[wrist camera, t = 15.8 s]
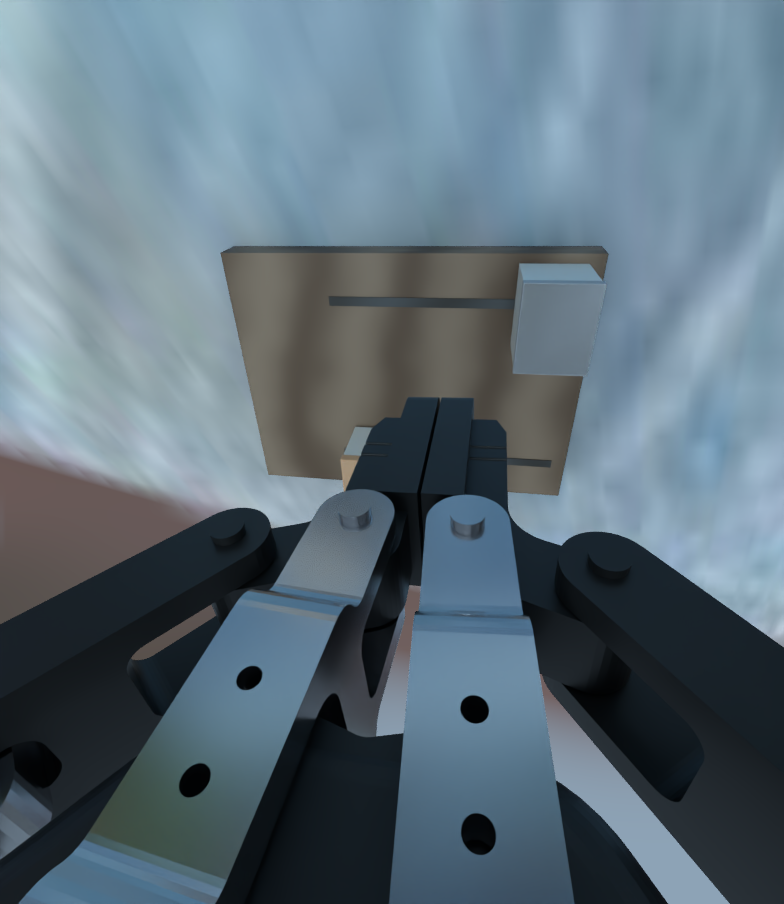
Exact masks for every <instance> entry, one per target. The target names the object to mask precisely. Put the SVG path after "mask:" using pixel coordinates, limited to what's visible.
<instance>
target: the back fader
mask: <svg viewBox="0 0 784 904" xmlns="http://www.w3.org/2000/svg"><path fill="white" fill-rule="evenodd" d="M371 429H372V428H370V427H355V429H354V431H353V433H352V436H351V438H350V440H349V443H348V445H347V448H346V450H345V452H344V455H342V457H341V459H340V460H341V469H342V478H343V488H344V492H345V490H346V487H347V485H348V483H349V480H350V478H351V476H352V473H353V471H354V469H355V466H356V464H357V461H358V459H359V457H360V456H361V452H362V450H363V447H364V445H366V440H367V438H368V436H369V433H370V431H371Z"/></svg>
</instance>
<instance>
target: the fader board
mask: <svg viewBox="0 0 784 904" xmlns="http://www.w3.org/2000/svg"><path fill="white" fill-rule="evenodd" d="M221 257H222V262H223V266H224V271H225V276H226V280H227V285H228V289H229V294H230V299H231V303H232V308H233V313H234V317H235V322H236V326H237V331H238V336H239V340H240V345H241V349H242V354H243V359H244V363H245V368H246V373H247V377H248V382H249V386H250V391H251V396H252V400H253V405H254V410H255V414H256V419H257V423H258V428H259V433H260V437H261V442H262V446H263V451H264V456H265V460H266V465H267V470H268V474H269V475H281V476H295V477H308V478H322V479H336V480H343V478H342V469H341V460H340V459H341V457H342V455H344V452H345V450H346V448H347V445H348V443H349V440H350V438H351V436H352V433H353V431H354V429H355V427H370V428H373V427H374V426H375V425H377V424H378V423H379V422H380V421H381V420H383V419H384V418H385V417H389V418H401V415H402V412H403V409H404V406H405V403H406V400H407V398H408V397H439V398H440V402H441V398H442V397H451V398H474V419H483V420H497V421H498V422H499V423H500V425H501V426H502V427H503V429H504V430H505V431H506V432H507V490H508V492H516V493H530V494H544V495H558V494H559V489H560V484H561V480H562V475H563V470H564V465H565V460H566V456H567V451H568V446H569V441H570V436H571V432H572V427H573V422H574V417H575V412H576V408H577V403H578V398H579V393H580V388H581V383H582V379H583V376H564V375H537V374H513V370H512V369H513V361H512V353H511V345H510V343H511V334H512V325H513V316H514V307H515V298H516V289H517V280H518V271H519V263H526V264H590V265H591V266H592V267H593V269H594V270H595V271H596V273H597V274H598V275H599V277H600V278H601V279H602V281H603V278H604V273H605V268H606V263H607V258H608V253H607V252H606V250H605V249H604V248H603V247H602V246H253V247H232V248H230V249H228V250H226V251H223V252H221Z"/></svg>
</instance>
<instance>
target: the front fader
mask: <svg viewBox="0 0 784 904" xmlns="http://www.w3.org/2000/svg"><path fill="white" fill-rule="evenodd" d="M606 286H607V283H606V282H605V281H602V279H601V278H600V277H599V275H598V274H597V273H596V271H595V270H594V269H593V267H592V266H591V265H590V264H526V263H519V271H518V280H517V289H516V298H515V307H514V316H513V325H512V334H511V343H510V345H511V353H512V361H513V369H512V370H513V374H537V375H564V376H587V375H588V370H589V366H590V361H591V356H592V352H593V347H594V342H595V338H596V333H597V328H598V324H599V319H600V314H601V310H602V305H603V300H604V295H605V291H606Z"/></svg>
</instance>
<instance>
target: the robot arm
mask: <svg viewBox="0 0 784 904" xmlns="http://www.w3.org/2000/svg"><path fill="white" fill-rule="evenodd" d="M409 585H416V586H421V591H420V604H419V611H416V612H415V616H414V623H413V633H412V644H411V655H410V667H409V678H408V691H407V701H406V713H405V724H404V733H402V734H394V735H386V736H377V737H376V730H377V719H378V713H379V708H380V704H381V701H382V697H383V694H384V690H385V687H386V683H387V680H388V676H389V672H390V669H391V666H392V662H393V658H394V655H395V652H396V648H397V644H398V641H399V638H400V634H401V631H402V627H403V624H404V619H405V609H404V606H405V603H406V598H407V594H408V589H409ZM209 605H212V607H213V609H214V611H215V614H216V616H215V617H214V618H212V619H211V620H209V621H207V622H206V623H204V624H203V625H201V626H199V627H198V628H196V629H195V630H193V631H192V632H190V633H188V634H187V635H185V636H184V637H182V638H180V639H179V640H177V641H176V642H174V643H172V644H171V645H169V646H168V647H166V648H165V649H163V650H161V651H160V652H158V653H157V654H155V655H154V656H152V657H150V658H147V659H144V660H132V659H131V657H132V656H133V654H134V653H135V652H136V651H137V650H139V649H140V648H141V647H143V646H144V645H146V644H147V643H149V642H151V641H152V640H154V639H155V638H157V637H159V636H160V635H162V634H163V633H165V632H167V631H168V630H170V629H172V628H173V627H175V626H176V625H178V624H180V623H182V622H183V621H185V620H186V619H188V618H190V617H191V616H193V615H194V614H196V613H198V612H199V611H201V610H203V609H204V608H206V607H208V606H209ZM540 674H542V676H543V679H544V682H545V683H546V685H547V687H548V689H549V690H550V692H551V693H552V694H553V695H554V697H555V698H556V699H557V700H558V701H559V702H560V704H561V705H562V706H563V707H564V708H565V709H566V711H567V712H568V713H569V714H570V715H571V717H572V718H573V719H574V720H575V721H576V723H577V724H578V725H579V726H580V727H581V728H582V730H583V731H584V732H585V733H586V734H587V736H588V737H589V738H590V739H591V740H592V741H593V743H594V744H595V745H596V746H597V747H598V748H599V750H600V751H601V752H602V753H603V754H604V756H605V757H606V758H607V759H608V760H609V762H610V763H611V764H612V765H613V766H614V767H615V769H616V770H617V771H618V772H619V773H620V774H621V775H622V777H623V778H624V779H625V780H626V782H627V783H628V784H629V785H630V786H631V787H632V789H633V790H634V791H635V792H636V793H637V794H638V796H639V797H640V798H641V799H642V800H643V802H644V803H645V804H646V805H647V806H648V808H649V809H650V810H651V811H652V812H653V813H654V815H655V816H656V817H657V818H658V819H659V821H660V822H661V823H662V824H663V825H664V826H665V828H666V829H667V830H668V831H669V832H670V834H671V835H672V836H673V837H674V838H675V839H676V840H677V842H678V843H679V844H680V845H681V846H682V848H683V849H684V850H685V851H686V852H687V854H688V855H689V856H690V857H691V858H692V859H693V861H694V862H695V863H696V864H697V865H698V867H699V868H700V869H701V870H702V871H703V872H704V874H705V875H706V876H707V877H708V878H709V880H710V881H711V882H712V883H713V884H714V885H715V887H716V888H717V889H718V890H719V891H720V893H721V894H722V895H723V896H724V897H725V898H726V900H727V901H728V902H729V903H730V904H784V647H782V646H781V645H779V644H778V643H777V642H775V641H774V640H772V639H771V638H770V637H768V636H767V635H765V634H764V633H763V632H761V631H760V630H758V629H757V628H756V627H754V626H753V625H751V624H750V623H749V622H747V621H746V620H744V619H743V618H742V617H740V616H739V615H737V614H736V613H735V612H733V611H732V610H730V609H729V608H728V607H726V606H725V605H723V604H722V603H721V602H719V601H718V600H716V599H715V598H713V597H712V596H711V595H709V594H708V593H706V592H705V591H704V590H702V589H701V588H699V587H698V586H697V585H695V584H694V583H692V582H691V581H690V580H688V579H687V578H685V577H684V576H683V575H681V574H680V573H678V572H677V571H676V570H674V569H673V568H671V567H670V566H669V565H667V564H666V563H664V562H663V561H662V560H660V559H659V558H657V557H656V556H655V555H653V554H652V553H650V552H649V551H648V550H646V549H645V548H643V547H642V546H640V545H639V544H637V543H636V542H634V541H632V540H630V539H628V538H625V537H622V536H619V535H616V534H612V533H606V532H586V533H581V534H578V535H575V536H573V537H571V538H570V539H568V540H567V541H566V542H565V543H564V544H563V545H562V546H560V545H557V544H554V543H550V542H547V541H544V540H541V539H539V538H536V537H534V536H532V535H530V534H528V533H527V532H525V531H524V530H522V529H521V528H520V527H519V526H517V524H516V523H515V522H514V521H513V519H512V518H511V516H510V514H509V511H508V490H507V432H506V431H505V430H504V429H503V427H502V426H501V425H500V423H499V422H498V421H497V420H483V419H474V398H451V397H442V398H441V402H440V398H439V397H408V398H407V400H406V403H405V406H404V409H403V412H402V415H401V418H389V417H385V418H384V419H383V420H381V421H380V422H379V423H378V424H377V425H375V426H374V427H373V428H372V429H371V431H370V433H369V436H368V438H367V440H366V445H364V447H363V450H362V452H361V456H360V457H359V459H358V461H357V464H356V466H355V469H354V471H353V473H352V476H351V478H350V480H349V483H348V485H347V487H346V490H345V492H341V493H339V494H336V495H334V496H333V497H331V498H329V499H328V500H326V501H325V502H324V503H323V504H322V505H321V506H320V508H319V509H318V511H317V513H316V514H315V516H314V518H313V519H312V521H309V522H306V523H302V524H296V525H290V526H284V527H278V528H273V529H271V525H270V522H269V520H268V518H267V516H266V515H265V514H263V513H262V512H260V511H258V510H255V509H251V508H235V509H230V510H225V511H223V512H220V513H217V514H215V515H213V516H211V517H209V518H207V519H205V520H203V521H201V522H199V523H197V524H195V525H193V526H191V527H189V528H188V529H186V530H183V531H182V532H180V533H178V534H176V535H174V536H172V537H170V538H168V539H166V540H164V541H162V542H160V543H158V544H156V545H154V546H152V547H150V548H148V549H147V550H145V551H143V552H141V553H139V554H137V555H135V556H133V557H131V558H129V559H127V560H125V561H123V562H121V563H119V564H117V565H115V566H113V567H111V568H109V569H108V570H105V571H104V572H102V573H100V574H98V575H96V576H94V577H92V578H90V579H88V580H86V581H84V582H82V583H80V584H78V585H77V586H74V587H72V588H70V589H68V590H67V591H65V592H63V593H61V594H59V595H57V596H55V597H53V598H51V599H49V600H47V601H45V602H43V603H41V604H39V605H37V606H35V607H33V608H32V609H29V610H27V611H26V612H24V613H22V614H20V615H18V616H16V617H14V618H12V619H10V620H8V621H6V622H4V623H2V624H0V904H668V903H667V902H666V900H665V899H664V898H663V896H662V895H661V893H660V892H659V891H658V889H657V888H656V887H655V885H654V884H653V882H652V881H651V880H650V878H649V877H648V875H647V874H646V873H645V871H644V870H643V869H642V867H641V866H640V865H639V863H638V862H637V860H636V859H635V858H634V856H633V855H632V853H631V852H630V851H629V849H628V848H627V847H626V846H625V844H624V843H623V842H622V840H621V839H620V838H619V837H618V835H617V834H616V833H615V832H614V831H613V830H612V829H611V828H610V826H609V825H608V824H607V823H606V822H605V821H604V820H603V819H602V818H601V816H599V815H598V814H597V813H596V812H595V811H594V810H593V809H592V808H591V807H590V806H589V805H587V804H586V803H585V802H584V801H583V800H582V799H581V798H580V797H578V796H577V795H576V794H574V793H573V792H572V791H570V790H569V789H568V788H566V787H565V786H564V785H562V784H561V783H559V782H558V781H556V779H555V772H554V765H553V760H552V752H551V746H550V739H549V733H548V726H547V719H546V713H545V706H544V700H543V693H542V687H541V680H540Z"/></svg>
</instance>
